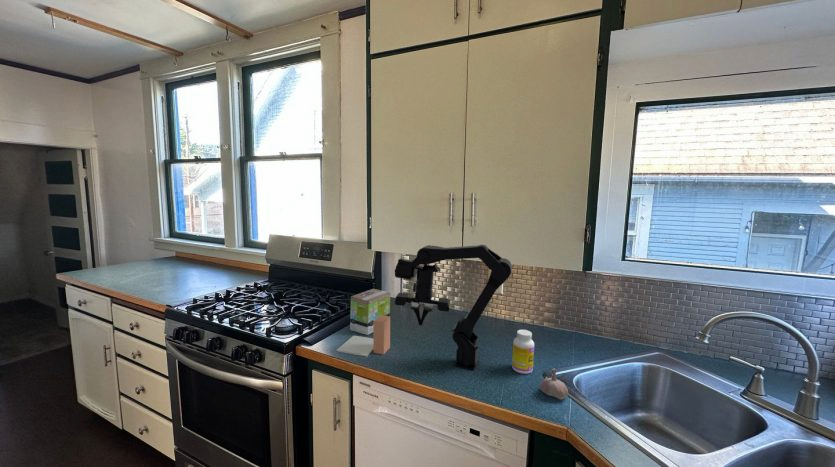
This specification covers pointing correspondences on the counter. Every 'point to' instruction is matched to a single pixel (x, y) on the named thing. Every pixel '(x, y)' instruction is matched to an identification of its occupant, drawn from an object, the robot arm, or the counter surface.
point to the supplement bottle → (523, 352)
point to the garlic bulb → (554, 387)
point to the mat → (357, 346)
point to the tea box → (368, 309)
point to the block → (381, 334)
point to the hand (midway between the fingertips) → (420, 325)
